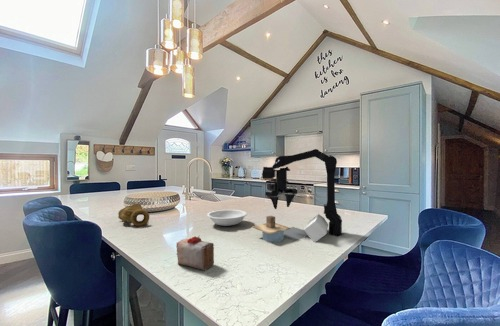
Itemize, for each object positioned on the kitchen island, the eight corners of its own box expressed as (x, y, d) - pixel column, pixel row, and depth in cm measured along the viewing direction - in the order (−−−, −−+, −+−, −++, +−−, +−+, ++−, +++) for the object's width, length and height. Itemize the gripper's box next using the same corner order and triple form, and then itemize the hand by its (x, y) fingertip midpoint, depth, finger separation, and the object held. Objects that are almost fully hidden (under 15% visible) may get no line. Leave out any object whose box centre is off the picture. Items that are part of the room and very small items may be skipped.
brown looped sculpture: (152, 206, 155) (153, 206, 136) (146, 225, 152) (146, 228, 132) (123, 199, 149) (120, 199, 129) (116, 219, 145) (111, 221, 125)
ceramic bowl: (273, 234, 114) (273, 225, 114) (287, 240, 106) (287, 229, 106) (258, 238, 108) (258, 228, 108) (272, 244, 100) (271, 233, 100)
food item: (172, 265, 81) (172, 237, 81) (188, 256, 88) (188, 231, 88) (203, 273, 75) (203, 243, 75) (217, 263, 82) (217, 236, 82)
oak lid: (272, 223, 117) (272, 212, 117) (290, 228, 106) (290, 217, 106) (252, 227, 109) (251, 216, 110) (269, 234, 99) (269, 221, 99)
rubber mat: (293, 227, 126) (293, 226, 126) (316, 234, 113) (316, 233, 113) (271, 233, 117) (271, 232, 117) (294, 241, 104) (294, 240, 104)
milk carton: (314, 243, 102) (318, 231, 119) (326, 233, 100) (329, 222, 117) (303, 230, 103) (309, 220, 121) (315, 221, 101) (319, 212, 119)
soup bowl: (202, 222, 140) (202, 211, 140) (238, 218, 150) (238, 208, 150) (213, 232, 118) (213, 220, 118) (254, 227, 128) (254, 215, 128)
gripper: (283, 177, 134) (283, 204, 134) (258, 179, 123) (259, 207, 123) (297, 178, 125) (297, 206, 125) (272, 180, 114) (272, 211, 114)
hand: (281, 207), depth 122 cm, fingers open, 9 cm apart
